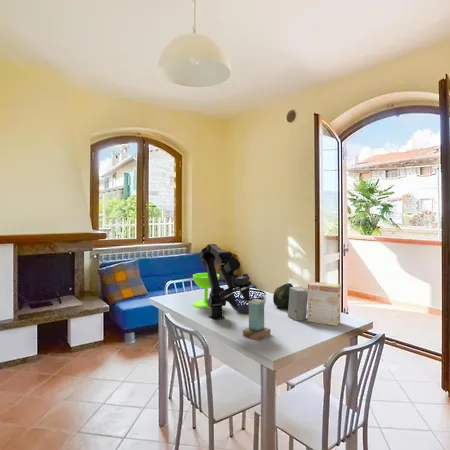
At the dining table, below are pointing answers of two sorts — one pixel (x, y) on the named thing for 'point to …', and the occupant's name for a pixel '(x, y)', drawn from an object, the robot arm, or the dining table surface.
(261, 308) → the tea tin
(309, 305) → the coffeecake box
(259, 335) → the walnut block
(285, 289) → the squash
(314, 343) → the dining table surface
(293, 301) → the skincare box
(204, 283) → the wineglass
